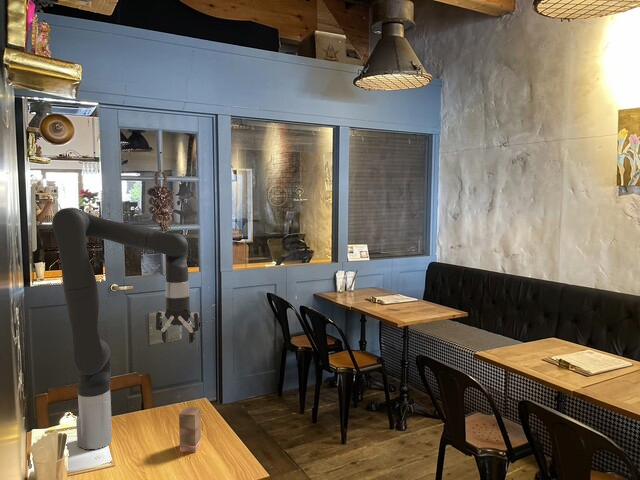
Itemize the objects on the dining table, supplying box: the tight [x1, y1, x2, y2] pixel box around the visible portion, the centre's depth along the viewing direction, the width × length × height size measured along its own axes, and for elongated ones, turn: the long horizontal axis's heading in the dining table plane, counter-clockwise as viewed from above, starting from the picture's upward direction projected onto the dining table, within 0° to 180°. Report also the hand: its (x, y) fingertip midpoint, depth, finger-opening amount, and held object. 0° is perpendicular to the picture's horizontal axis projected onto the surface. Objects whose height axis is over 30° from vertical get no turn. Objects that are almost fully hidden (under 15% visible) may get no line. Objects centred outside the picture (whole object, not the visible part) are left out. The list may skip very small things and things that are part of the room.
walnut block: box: [178, 406, 202, 453], centre depth 151 cm, size 5×5×12 cm
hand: (178, 342), depth 161 cm, fingers open, 8 cm apart
